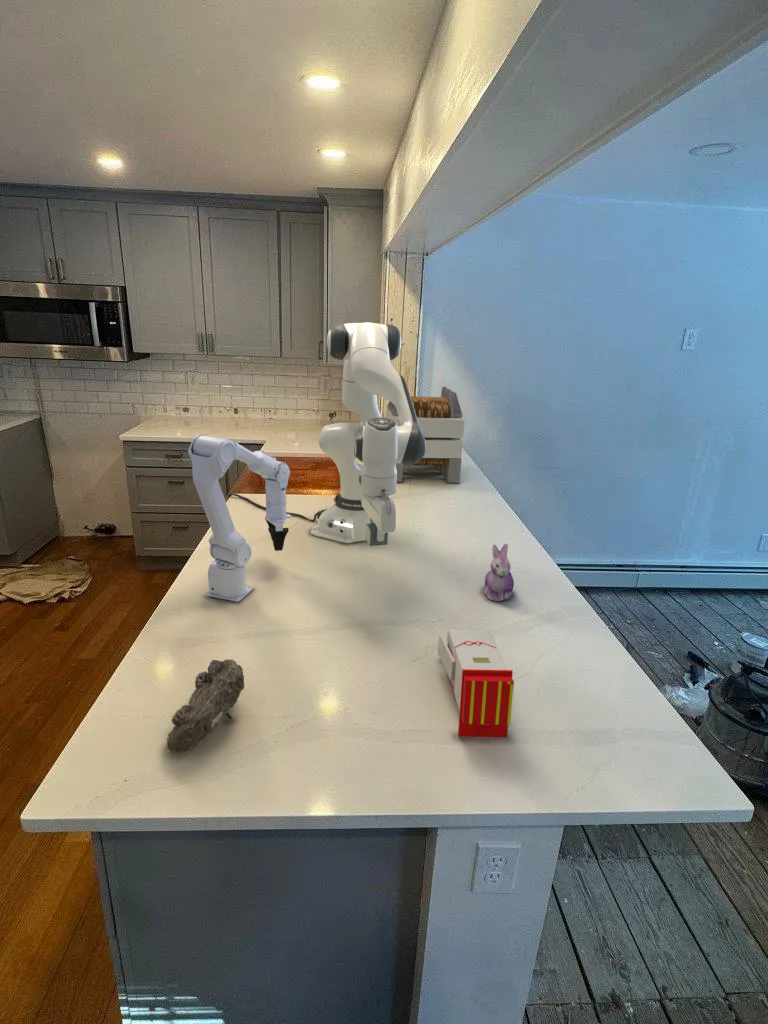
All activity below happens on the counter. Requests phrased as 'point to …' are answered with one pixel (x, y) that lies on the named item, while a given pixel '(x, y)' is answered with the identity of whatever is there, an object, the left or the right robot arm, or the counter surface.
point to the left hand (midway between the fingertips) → (277, 545)
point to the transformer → (437, 433)
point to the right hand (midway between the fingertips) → (376, 535)
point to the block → (374, 535)
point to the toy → (478, 682)
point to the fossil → (206, 705)
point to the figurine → (499, 576)
